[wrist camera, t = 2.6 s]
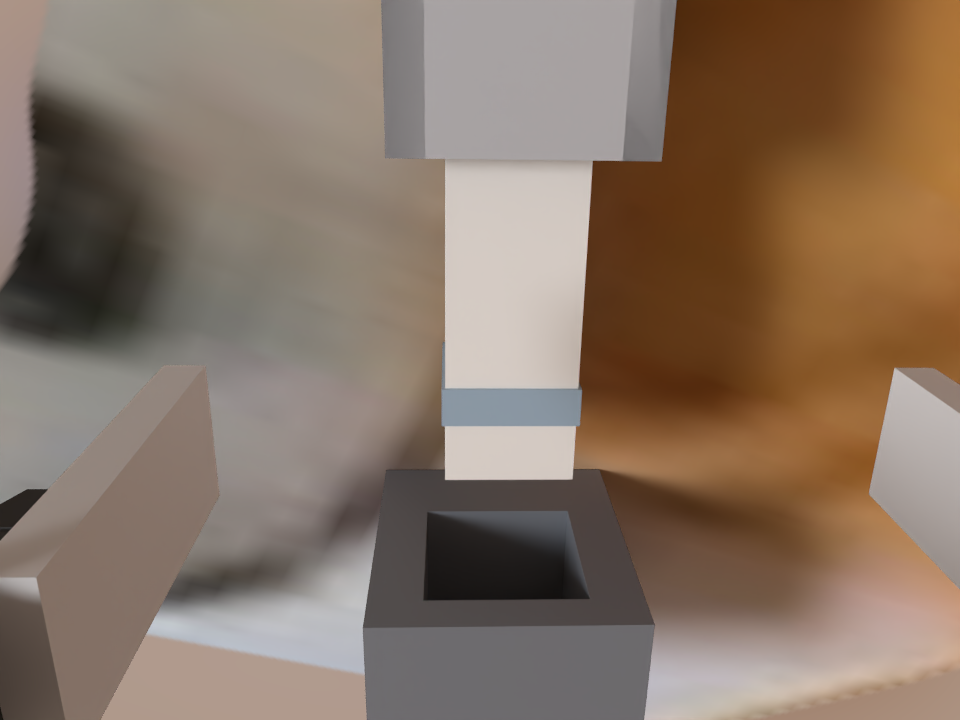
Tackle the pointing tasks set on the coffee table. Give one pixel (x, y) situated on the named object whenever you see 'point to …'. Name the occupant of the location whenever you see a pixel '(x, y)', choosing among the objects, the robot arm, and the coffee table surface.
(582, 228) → the tube
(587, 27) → the sleeve
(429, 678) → the socket fitting
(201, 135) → the coffee table surface
